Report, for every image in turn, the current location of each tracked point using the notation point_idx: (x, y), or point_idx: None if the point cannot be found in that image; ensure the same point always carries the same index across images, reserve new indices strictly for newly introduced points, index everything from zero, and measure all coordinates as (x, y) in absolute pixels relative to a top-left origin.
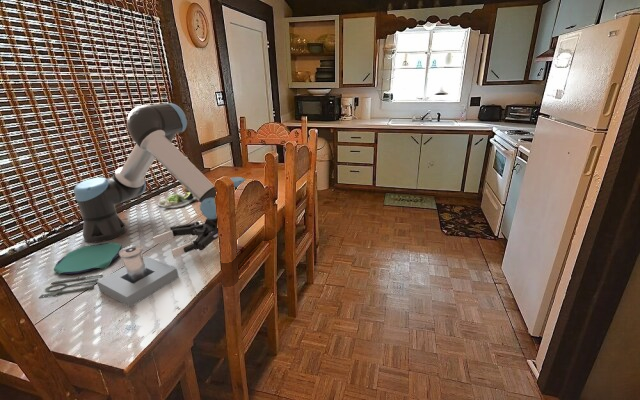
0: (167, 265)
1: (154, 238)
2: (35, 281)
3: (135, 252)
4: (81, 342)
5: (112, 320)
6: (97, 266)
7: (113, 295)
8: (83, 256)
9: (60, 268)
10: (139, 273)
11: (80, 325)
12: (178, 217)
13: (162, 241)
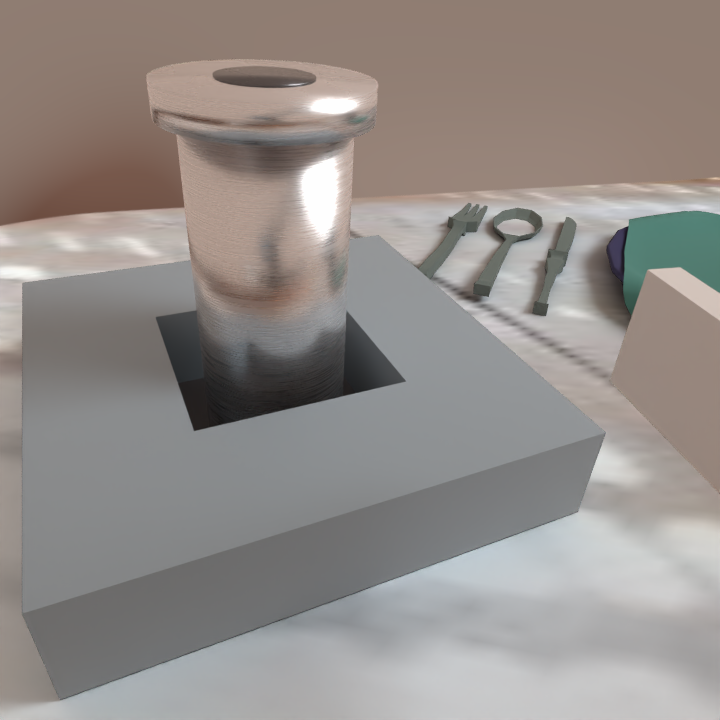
0: (209, 541)
1: (650, 291)
2: (618, 204)
3: (155, 78)
4: (3, 244)
5: (21, 303)
6: (634, 283)
7: None
8: None
9: (683, 221)
10: (197, 315)
11: (129, 248)
12: None
13: (689, 450)
